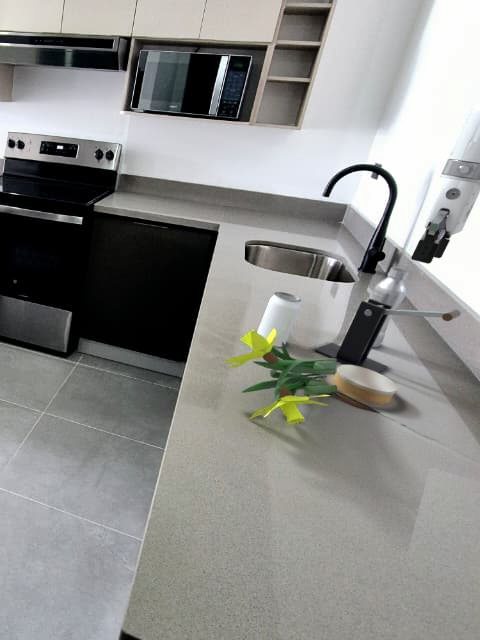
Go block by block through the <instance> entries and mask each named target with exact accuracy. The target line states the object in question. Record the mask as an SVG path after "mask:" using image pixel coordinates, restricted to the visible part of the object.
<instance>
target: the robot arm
mask: <svg viewBox="0 0 480 640" xmlns="http://www.w3.org/2000/svg"><path fill="white" fill-rule="evenodd" d="M439 177H441V178H445V180H444V183H443V184H442V187H441V188H440V191H439V193H438V195H437V197H436V198H435V200H434V203H433V205H432V207H431V209H430V211H429V214H428V216H427V218H426V221H425V223H424V229H425V231H424V232H423V234H422V235H421V236H420V237H421V238H420V239H419V240H418V243H417V244H416V245H415V248H414V250H413V253H412V255H411V257H410V259H411V260H412V261H414V262H419V263H423V264H427V265H429V264H431V263H432V262H433V260H434V258H436V259H441V258H442V257H443V256H444V253H445V251H446V249H447V248H448V245H449V243H450V241H451V238H452V236H453V235H456V234H458V233H460V232H462V231H463V230H464V227H465V225H466V223H467V222H468V219H469V217H470V215H471V212H472V210H473V208H474V206H475V204H476V202H477V199H478V197H479V195H480V101H479V102H477V103H475V104H474V105H473V107H472V108H471V109H470V111H469V114H468V115H467V118H466V120H465V122H464V124H463V126H462V128H461V131H460V133H459V134H458V137H457V139H456V142H455V143H454V146H453V148H452V150H451V151H450V153H449V156H448V159H447V160H446V163H445V164H444V167H443V169H442V170H441V173H440V176H439Z"/></svg>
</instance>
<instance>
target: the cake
mask: <svg viewBox="0 0 480 640" xmlns="http://www.w3.org/2000/svg"><path fill="white" fill-rule="evenodd" d="M332 385H336V386H337V390H339V391H340V392H339V391H337V392H331V393H330V394H331V395H333V396H334V397H335V398H338V399H339V400H341V401H343V402H344V403H347V404H349V405H351V406H354V407H356V408H358V409H361V410H365V411H367V412H372V413H376V414H381V411H378V410H376V409H374V408H372V407H370V406H368V405H366V404H364V403H368V404H372V405H378V406H385V405H388V404H389V403H390V402H391V400H392V399H393V396H394V395H395V394H396V393H397V391H398V386H397V385H396V383H395V382H394V381H393V380H391V379H390V378H388V377H386V376H385V375H383V374H381V373H380V372H379V373H377V372H375V371H372V370H369V369H366V368H363V367H359V366H354V365H344V364H340V365H338V366H337V368H336V373H335V375H334V377H333V378H332ZM360 401H361V402H360ZM363 402H364V403H363Z"/></svg>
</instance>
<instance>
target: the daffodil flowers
mask: <svg viewBox="0 0 480 640" xmlns="http://www.w3.org/2000/svg"><path fill="white" fill-rule="evenodd" d="M291 319H292V318H291ZM291 319H290V320H291ZM288 323H289V322H288ZM288 323H287V324H288ZM285 328H286V327H285ZM282 332H283V331H282ZM282 332H281V333H282ZM281 333H280V334H281ZM280 334H279V335H278V336H277V337H276V338H275V339H274V340H273V338H274V337H275V335H276V330H275V328H274V329H273V330H272V332H271V333H270V335H269V337H268V338H267V340H266V339H265V338H264V337H263V336H261V335H260V334H258V333H257V331H256V330H255V329H254V328H251V329H250V331H247V333H245V334H244V335H243V336H242V337H241V338H240V339H239V340H240V342H242V343H244V344H245V345H246V346H248V347H249V348H251V349H252V350H253V351H251V352H248V353H245V354H241V355H239V356H235V357H232V358H228V359H226V360H224V361H222V363H228V364H233V365H232V366H229V367H228V368H226V369H225V371H227V370H230V369H234V368H239V367H241V366H243V365H244V364H246V363H248V362H249V361H252V360H253V361H252V363H253V364H256V365H258V366H261V367H263V368H265V369H269V375H270V377H271V378H272V380H265V381H261V382H258V383H256V384H252V385H251V386H249V387H247V388H245V389H243V390H242V391H240V393H242V394H245V393H246V394H247V393H252V392H258V391H263V390H270V389H274V392H273V400H275V401H274V402H273V403H272V404H270V405H268V406H265V407H263V408H260V409H259V410H256V411H255V412H253V414H252V415H251V417H249V420H251V419H254V418H256V417H258V416H262V415H263V414H265V413H266V414H265V415H264V416H263V418H265V417H267V416H268V415H270V413H271V412H272V411H273V410H275V409H277V408H280V410H281V411H282V413H283V415H284V416H285V417H286V424H287V425H291V426H292V425H296V424H302V423H303V422H305V421H306V419H305V417H304V416H303V415H302V413H301V412H300V411H299V406H298V405H305V404H310V405H313V404H314V405H315V404H316V405H320V406H327V407H328V406H329V404H326V403H323V402H320V401H316V400H311V399H310V398H321V397H330V396H332V397H333V396H334V395H332V394H331V392H338V388H337V386H336V385H334V384H328V383H327V382H326V381H325V380H321V379H327V378H328V376H327V375H334V376H335V374H336V372H337V368H338V364H337V363H338V362H337V361H336V360H337V359H335V358H328V357H320V358H309V359H297V358H294V357H292V356H290V354H289V352H288V349H287V347H286V344H284V343H283V342H282V347H281V351H280V350H278V349H277V348H276V347H275V346H273V345H274V343H275V341H276V340H277V338H278V337H279V336H280ZM272 340H273V341H272ZM255 359H263V361H259V360H256V361H255ZM331 361H333V362H331ZM299 390H301V391H302V390H303V391H304V394H305V396H297V395H296V394H297V391H299ZM317 394H319V395H317ZM328 394H331V395H328ZM306 395H312V396H306Z"/></svg>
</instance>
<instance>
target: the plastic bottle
mask: <svg viewBox="0 0 480 640" xmlns="http://www.w3.org/2000/svg"><path fill="white" fill-rule="evenodd" d="M409 273H410V272H409V270H406V269H403V268H399V267H394V266H393V267H390V269H389V271H388V273H387V274H386V276H387V277H385V278H383V279H381V280H380V281H378V282H377V283H376V284H375V285H374V287H373V290H372V292H371V296H370V299H373V300H376V301H379V302H382V303H385V304H388V305H391V306H392V308H391V309H393V310H397V308H398V307H399V306H400V305H401V303H402V302H403V300H404V298H405V297H406V295H407V289H406V285H405V282H404V281H407V279H408V276H409ZM392 318H393V315H388V317H387V319H386V321H385V323H384V325H383V327H382V329H381V331H380V333H379V335H378V337H377V339H376V341H375V343H374V345H373V347H372V349H373V348H377V347H380V346H381V344H382V343H383V342H384V339H385V336H386V331H387V328H388V326H389V323H390V322H391V319H392Z"/></svg>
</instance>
